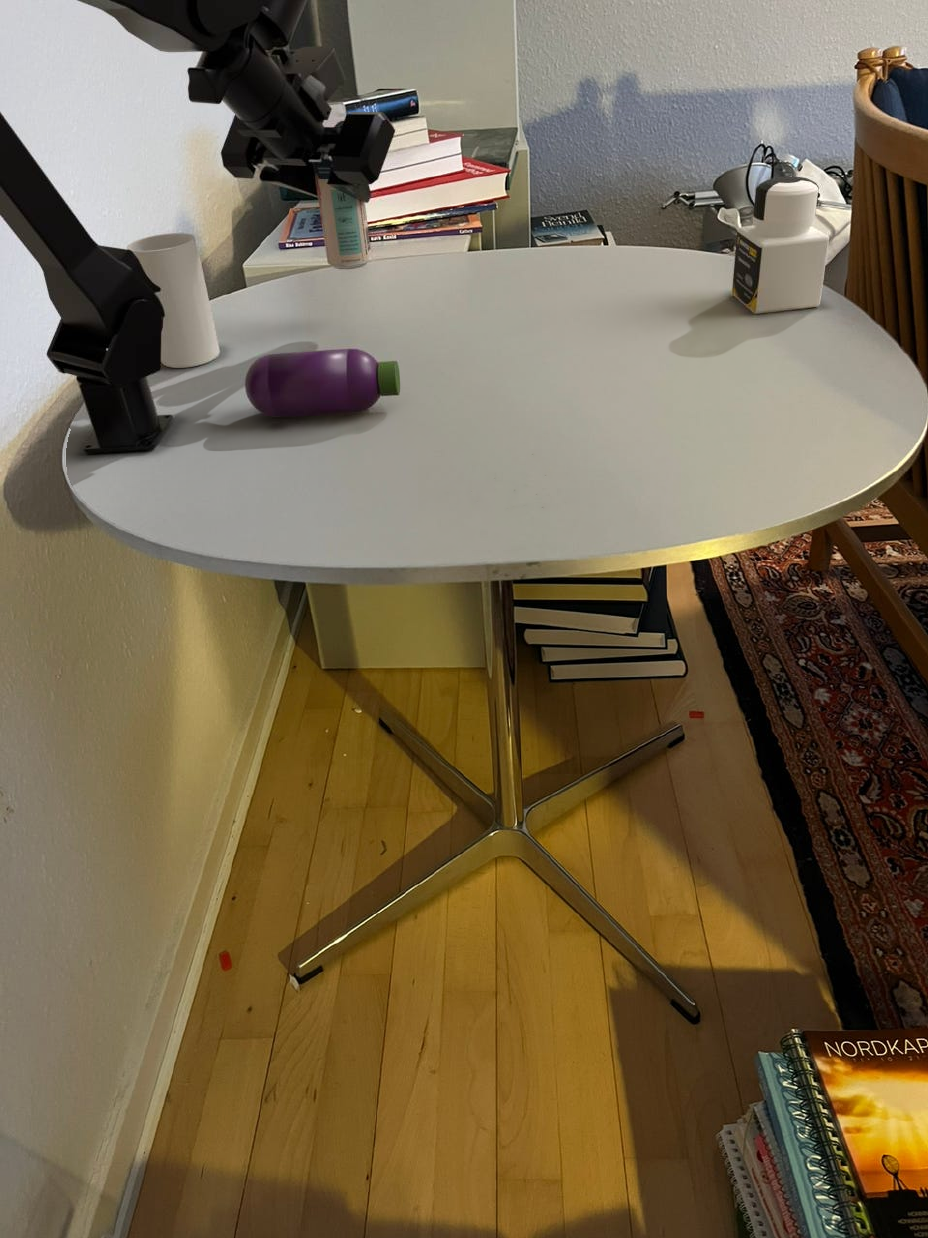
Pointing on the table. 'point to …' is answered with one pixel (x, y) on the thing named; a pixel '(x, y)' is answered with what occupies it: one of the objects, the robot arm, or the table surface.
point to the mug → (179, 298)
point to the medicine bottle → (781, 249)
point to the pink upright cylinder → (341, 222)
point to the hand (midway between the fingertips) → (349, 197)
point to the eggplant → (319, 382)
